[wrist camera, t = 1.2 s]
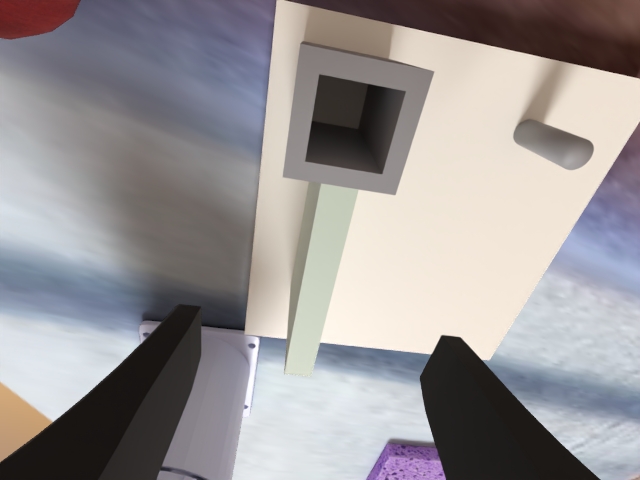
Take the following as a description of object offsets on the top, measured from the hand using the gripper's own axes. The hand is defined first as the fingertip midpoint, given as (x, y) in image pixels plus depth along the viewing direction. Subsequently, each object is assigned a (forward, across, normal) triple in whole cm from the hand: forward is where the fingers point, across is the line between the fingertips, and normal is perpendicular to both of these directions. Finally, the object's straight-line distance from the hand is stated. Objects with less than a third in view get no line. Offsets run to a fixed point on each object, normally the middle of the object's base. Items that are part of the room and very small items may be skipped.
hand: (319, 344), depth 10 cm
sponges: (+11, -14, +29) cm, 34 cm away
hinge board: (+10, -5, 0) cm, 12 cm away
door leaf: (+9, 0, -1) cm, 9 cm away
